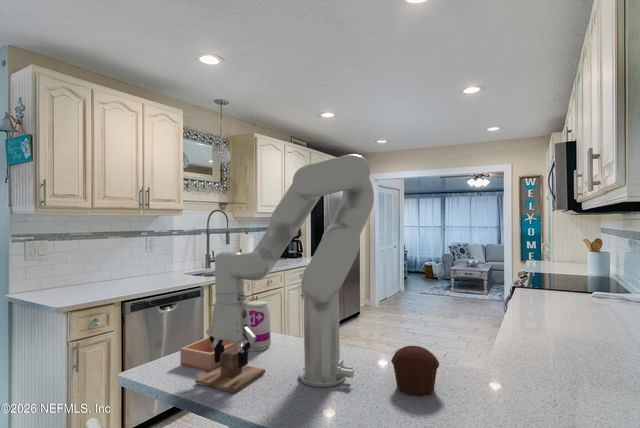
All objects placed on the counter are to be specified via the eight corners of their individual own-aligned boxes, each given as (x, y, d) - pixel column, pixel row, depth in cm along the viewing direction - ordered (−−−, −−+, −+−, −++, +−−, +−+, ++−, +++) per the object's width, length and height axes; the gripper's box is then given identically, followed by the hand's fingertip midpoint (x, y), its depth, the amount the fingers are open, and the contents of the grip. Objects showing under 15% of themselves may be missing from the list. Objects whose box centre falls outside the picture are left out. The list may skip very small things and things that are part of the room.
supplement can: (265, 352, 120) (264, 305, 120) (241, 350, 121) (240, 304, 122) (273, 343, 128) (273, 300, 128) (251, 342, 129) (250, 299, 129)
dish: (238, 357, 116) (238, 341, 116) (211, 372, 105) (211, 354, 105) (209, 351, 121) (209, 336, 121) (180, 365, 110) (180, 348, 110)
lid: (265, 372, 103) (264, 347, 103) (234, 392, 92) (234, 364, 92) (228, 364, 109) (228, 341, 109) (195, 382, 97) (195, 356, 98)
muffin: (384, 391, 92) (383, 350, 92) (401, 375, 101) (400, 338, 101) (432, 404, 85) (431, 360, 85) (445, 385, 94) (445, 345, 94)
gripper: (264, 297, 100) (265, 363, 100) (215, 292, 108) (216, 354, 108) (247, 303, 93) (248, 374, 93) (195, 298, 101) (196, 363, 101)
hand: (231, 363), depth 100 cm, fingers open, 7 cm apart
